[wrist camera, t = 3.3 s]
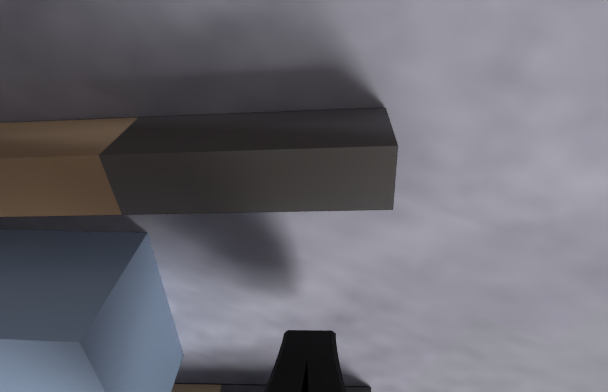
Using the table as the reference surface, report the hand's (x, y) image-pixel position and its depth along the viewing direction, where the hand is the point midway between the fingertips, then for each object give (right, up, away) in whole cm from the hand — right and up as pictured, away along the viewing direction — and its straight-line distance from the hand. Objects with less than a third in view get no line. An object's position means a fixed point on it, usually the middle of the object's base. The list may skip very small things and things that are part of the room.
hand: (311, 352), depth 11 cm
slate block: (-8, +1, +2) cm, 8 cm away
